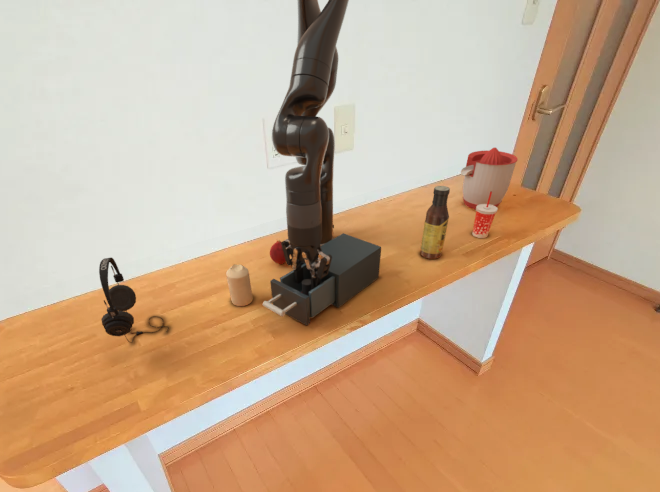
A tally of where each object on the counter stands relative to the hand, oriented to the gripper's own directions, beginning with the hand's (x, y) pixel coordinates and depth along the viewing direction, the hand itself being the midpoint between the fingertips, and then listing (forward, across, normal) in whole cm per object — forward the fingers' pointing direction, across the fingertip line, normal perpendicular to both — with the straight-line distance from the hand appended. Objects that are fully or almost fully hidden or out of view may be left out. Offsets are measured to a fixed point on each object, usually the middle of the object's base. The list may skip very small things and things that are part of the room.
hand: (307, 285), depth 92 cm
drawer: (+5, 0, +1) cm, 6 cm away
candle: (+6, +15, +9) cm, 19 cm away
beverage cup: (+7, -17, -63) cm, 66 cm away
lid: (+4, 0, 0) cm, 4 cm away
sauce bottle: (+7, -11, -42) cm, 44 cm away
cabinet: (+6, 0, -13) cm, 14 cm away
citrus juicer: (+7, -7, -85) cm, 86 cm away
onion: (+7, +20, -10) cm, 23 cm away
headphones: (+7, +22, +33) cm, 40 cm away
